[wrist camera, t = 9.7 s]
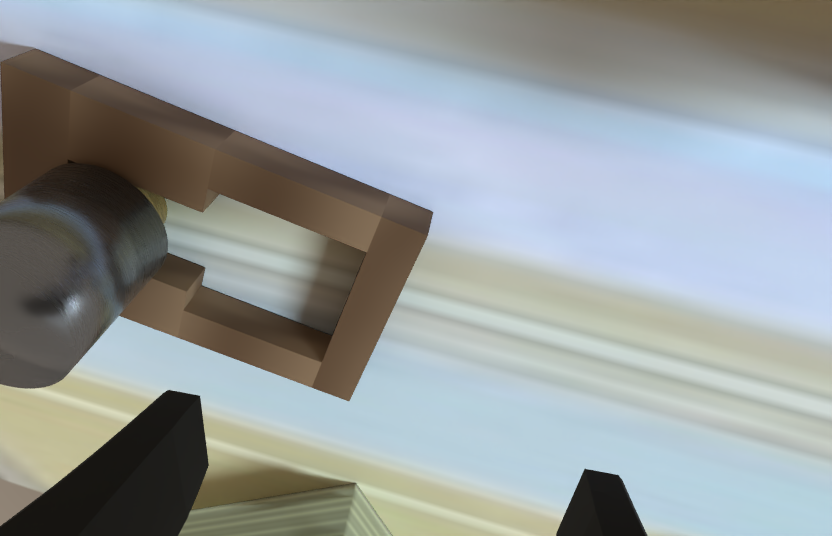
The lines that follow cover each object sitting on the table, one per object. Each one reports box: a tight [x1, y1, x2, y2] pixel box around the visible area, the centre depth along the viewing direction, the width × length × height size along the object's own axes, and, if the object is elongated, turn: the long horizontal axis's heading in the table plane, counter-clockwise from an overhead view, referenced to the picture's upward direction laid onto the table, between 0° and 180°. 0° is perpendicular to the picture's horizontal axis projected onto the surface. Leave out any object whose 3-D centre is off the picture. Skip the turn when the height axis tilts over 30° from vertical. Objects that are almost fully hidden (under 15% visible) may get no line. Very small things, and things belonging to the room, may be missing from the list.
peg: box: [0, 163, 168, 388], centre depth 18 cm, size 4×4×7 cm
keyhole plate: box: [1, 49, 433, 401], centre depth 20 cm, size 13×8×2 cm, turn 69°
